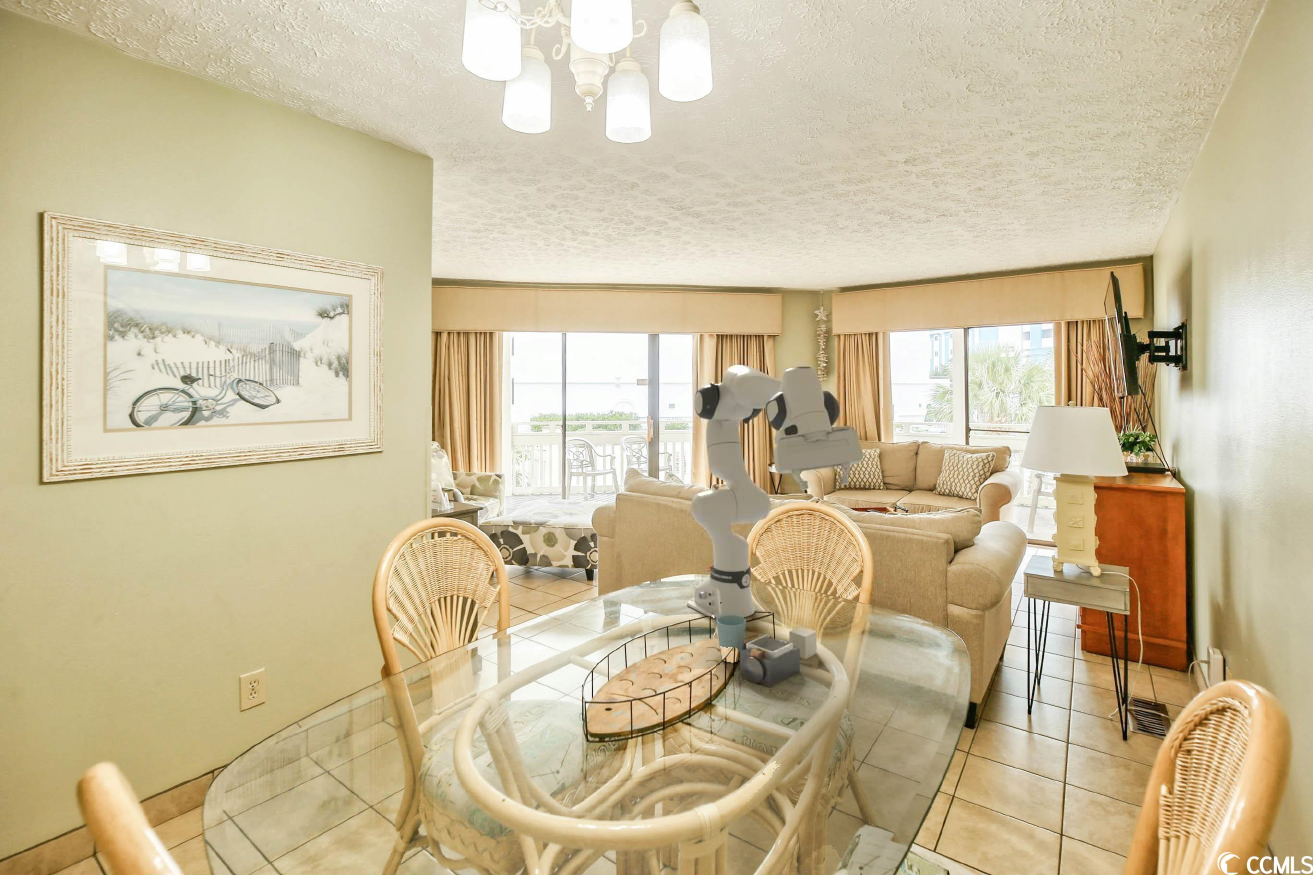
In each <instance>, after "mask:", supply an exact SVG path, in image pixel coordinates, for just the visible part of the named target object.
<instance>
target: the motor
mask: <svg viewBox="0 0 1313 875" xmlns="http://www.w3.org/2000/svg"><path fill="white" fill-rule="evenodd" d="M745 647H746V648H743V650H742V651H740V662H739V664H740V665H739V668H740V669H739V671H740V672H739V673H740V674H739V675H740V676H742V677H744V678H746V679H747V680H748V681H749V682H750V683H752V684H760V685H764V687H765V686H766V687H767V688H772V687H774V686H776V685H777V684H779V683H781V682H783V681H785V680H787V679H788V678H790V677H792V676H795V675H796V674H798V673H800V671H801V670H800V668H801V666H800V665H801V664H800V663H801V662H800V660H801V659H800V658H801V657H800V648H799V647H796V646H793V643H789V641H787V640H779V639H776V638H772V637H769V636H768V634H764V635H761V636H759V637H757V638H755V639H752V640H750V641H749V642H746V643H745Z"/></svg>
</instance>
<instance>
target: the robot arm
mask: <svg viewBox="0 0 1313 875" xmlns="http://www.w3.org/2000/svg"><path fill="white" fill-rule="evenodd" d="M693 403H694V404H693V405H694V410H695V414H697V416H698V417H699V418H700V419H704V420H707V421H706V428H705V442H706V454H707V461H708V462H707V463H708V469H709V472H710V473H711V474H712V475H713V476H714V477H715V478H718V479H720V480H722V481H723V482H725V484H726V485H727V488H725V489H709V490H704V491H701V492H698V493H696V494H694V496H693V497H692V499H691V502H690V513H691V516H692V519H693V520H694V521H695V522H696V523H698V525H700V526H701V527H702V528H704V530H705V531H706V532H707V533H708V535H709V537H710V539H711V543H712V549H713V550H712V551H713V565H712V566H710V567H707V572H710V574H709V576H708V577H707V578H706V579H704V580H703V581H701V582H700V583H699V584H697V585H696V587H695V589H694V595H693V597H692V598H690V599H688V601H686V602H687V603H686V605H687V606H688V607H689V608H692V609H693V610H695V611H698V612H699V613H702V614H703V615H704V616H707V617H709V618H711V617H710V616H711V615H714V617H716V618H715V619H717V618H718V617H720V616H724V615H737V616H741V617H743V618H746V617H750V616H752V615H753V614H754V613H755V611H756V609H755V605H754V602H753V598H752V591H751V577H752V576H751V575H752V574H751V573H752V572H751V566H750V545H749V543H748V541H747V540H746V538H745V537H743V536H741V535H739V534H737V533H734V531H733V530H732V525H734V524H750V523H756V522H759V521H762V520H765V519H767V518H768V516H769V515H770V512H771V509H772V503H771V499H770V496H769V494H768V493H767V491H765V490H764V489H763V488H760V487H759V485H757V484H756V483H755V482H754V481H753V479H752V478H751V477H750V475H749V474H748V472H747V471H748V470H747V469H746V466H745V465H746V464H745V462H744V454H743V450H742V440H741V436H740V431H739V430H740V428H739V427H740V424H741V422H743V423H744V424H746V425H747V424H749V423H750V421H752V420H753V419H755V418H757V417H758V416H759V415H760V413H761V412H762V411H763V410H764V409H765V415H766V420H767V422H768V423H769V425H770V426H771V428H773V430H776V431H777V432H776V433H775V436H774V439H773V441H774V443H775V447H774V448H773V449H774V450H773V460H774V461H773V462H774V468H775V471H776V472H777V473H778V474H780V475H782V474H790V473H791V474H792V477H793V479H794V480H795V481H796V482H797V483H798V484H799V488H800V489H799V490H800V491H805V490H809V485H808V484H809V483H808V480H804V479H803V478H802V477H801V476H800V475H801V472H804V471H813V470H820V469H827V468H837V467H841V468H840V469H841V470H842V471H843V474H842V475H840V477H838V479H839V480H838V481H839V484H840V485H841V486H844V485H849V483H850V480H849V473H850V471H851V465H858V464H859V463H860V462H862V460H863V459H864V453H863V449H862V446H861V444H860V442H859V436H858V431H857V429H855V428H854V427H852V426H850V425H844V426H833V425H835V424H836V423H837V420H838V419H839V417H840V413H841V409H840V404H839V401H838V400H837V398H836V397H835V395H833V394H832V393H831V392H830V391H828V390H823V387H822V384H821V382H820V378H819V376H818V373H817V371H816V370H815V369H814V368H813V367H810V366H802V365H801V366H794V367H791V368H788V369H786V370H784V371H783V373H782V377H781V379H778V378H776V377H773V376H771V375H769V374H768V373H764V372H762V371H760V370H758V369H756V368H755V367H751V366H747V365H745V364H743V365H741V364H736V365H732V366H730V367H729V368H728V369H726V370H725V372H724V373H723V377H722V381H721V382H720V383H715V382H713V381H712V382H711V383H709V384H707V385H704V386H701V387H700V388H699V389H698V390H697V391H696V392H695V395H694V401H693ZM720 602H722V603H721V604H720Z"/></svg>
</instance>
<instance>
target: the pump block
mask: <svg viewBox="0 0 1313 875" xmlns="http://www.w3.org/2000/svg"><path fill="white" fill-rule="evenodd" d="M788 632H789V635H788V636H789V641H788V642H789V643H793V646H796V647H799V648H800V658H801V659H803V660H806V659H808V658H811V657H812V656H814V655H815V654H817V631H816V630H814V629H810V628H808V627H807V628H806V627H804V626H798V627H796V628H793V629H791V630H790V631H788Z"/></svg>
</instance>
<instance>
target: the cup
mask: <svg viewBox="0 0 1313 875" xmlns="http://www.w3.org/2000/svg"><path fill="white" fill-rule="evenodd" d="M715 622H716V628H717V636H718V644H719V647H720V646H722V647H726V648H728V647H736V648H737V649H738V650H739V652H740V651H742V650H744V647H745V646H744V644H745V635H746V627H747V619H746V617H741V616H737V615H724V616H720V617H718V618H716V621H715Z"/></svg>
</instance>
